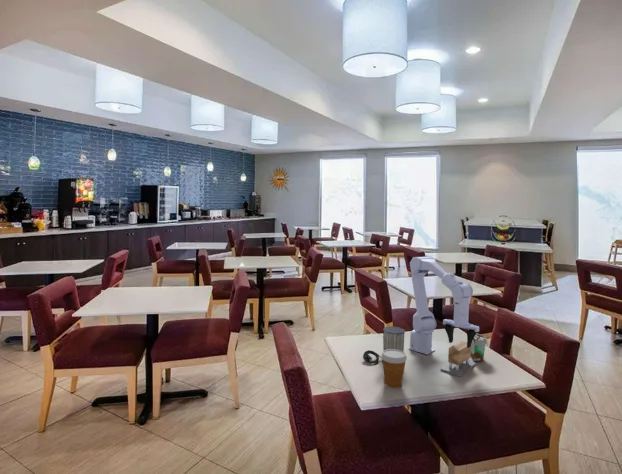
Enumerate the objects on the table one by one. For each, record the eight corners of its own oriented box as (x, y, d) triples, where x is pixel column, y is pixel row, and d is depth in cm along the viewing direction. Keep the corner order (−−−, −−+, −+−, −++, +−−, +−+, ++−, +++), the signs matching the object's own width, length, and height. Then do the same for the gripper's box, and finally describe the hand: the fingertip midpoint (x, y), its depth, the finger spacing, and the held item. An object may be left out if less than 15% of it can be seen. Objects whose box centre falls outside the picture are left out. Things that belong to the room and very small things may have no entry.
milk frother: (408, 365, 164) (409, 331, 163) (379, 372, 157) (380, 336, 156) (387, 353, 177) (388, 322, 176) (358, 359, 170) (359, 326, 168)
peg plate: (440, 370, 159) (440, 362, 159) (458, 359, 171) (458, 352, 171) (459, 376, 154) (459, 368, 153) (476, 364, 166) (476, 357, 165)
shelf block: (448, 362, 160) (448, 348, 159) (460, 354, 168) (461, 341, 168) (458, 365, 157) (459, 350, 156) (470, 357, 165) (471, 343, 165)
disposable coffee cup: (377, 378, 151) (378, 348, 150) (401, 378, 152) (402, 348, 151) (384, 390, 142) (385, 358, 141) (409, 389, 142) (410, 358, 141)
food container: (489, 364, 166) (490, 342, 165) (474, 363, 167) (475, 340, 166) (482, 354, 178) (483, 332, 177) (468, 352, 179) (469, 331, 178)
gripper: (440, 311, 163) (439, 342, 164) (475, 318, 153) (473, 351, 154) (447, 308, 168) (446, 338, 169) (481, 314, 158) (480, 347, 159)
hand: (459, 344), depth 162 cm, fingers open, 7 cm apart
